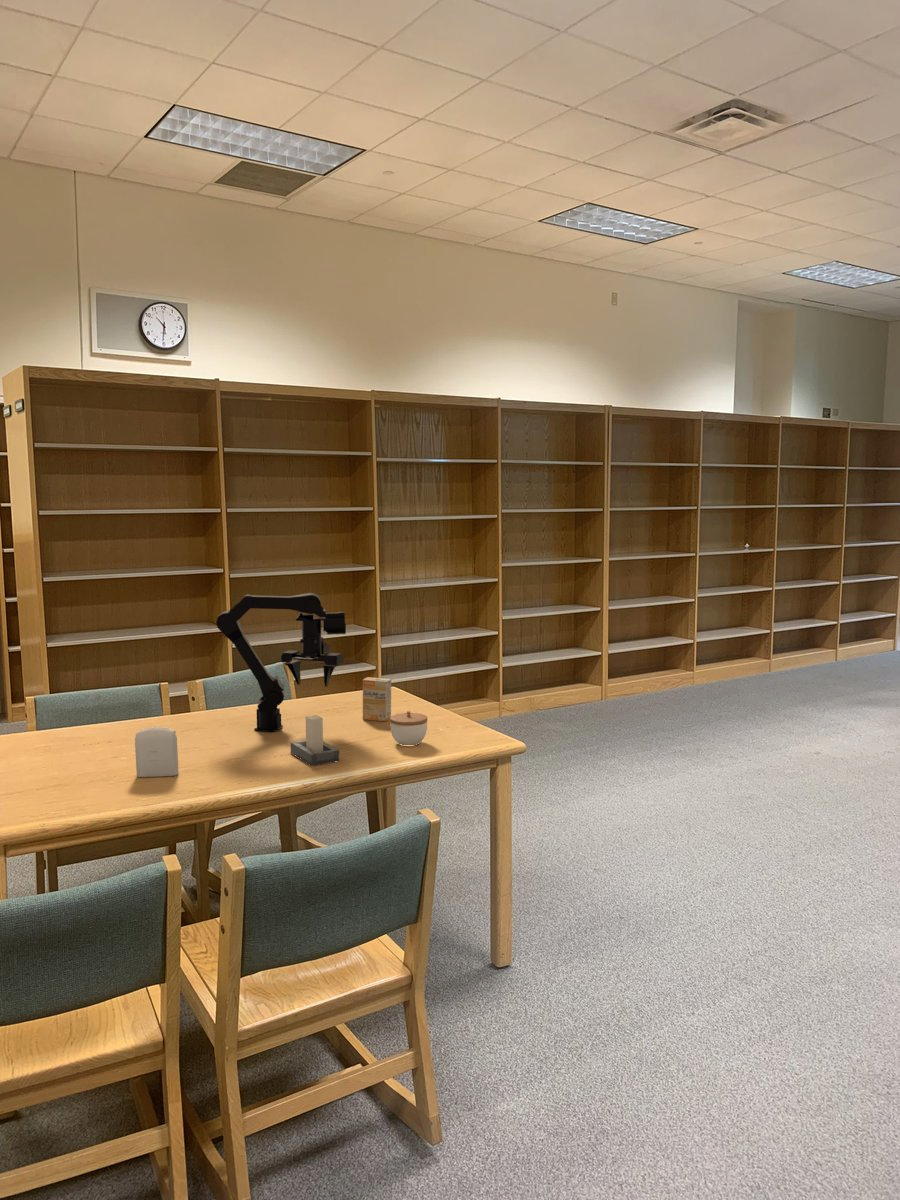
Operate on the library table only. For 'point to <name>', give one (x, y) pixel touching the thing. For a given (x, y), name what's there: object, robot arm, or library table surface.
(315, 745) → the pale grey rectangular block
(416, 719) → the lidded jar
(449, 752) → the library table surface
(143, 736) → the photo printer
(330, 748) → the grey rectangular tray
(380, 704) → the supplement box
